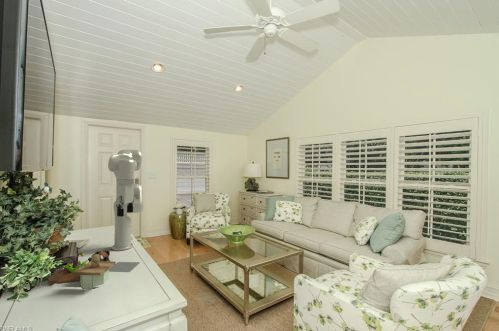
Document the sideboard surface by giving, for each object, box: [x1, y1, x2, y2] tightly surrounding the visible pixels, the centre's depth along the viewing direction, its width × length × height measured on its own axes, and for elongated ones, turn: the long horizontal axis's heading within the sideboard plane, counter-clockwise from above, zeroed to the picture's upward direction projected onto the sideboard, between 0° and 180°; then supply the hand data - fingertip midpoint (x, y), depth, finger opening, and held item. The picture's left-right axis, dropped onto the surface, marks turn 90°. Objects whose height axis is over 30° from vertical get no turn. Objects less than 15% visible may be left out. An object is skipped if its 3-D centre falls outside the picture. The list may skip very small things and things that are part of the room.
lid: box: [73, 254, 117, 275], centre depth 111 cm, size 12×12×6 cm
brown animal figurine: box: [87, 249, 111, 262], centre depth 132 cm, size 12×10×8 cm
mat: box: [109, 261, 141, 273], centre depth 127 cm, size 12×12×1 cm
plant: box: [47, 252, 89, 286], centre depth 118 cm, size 20×20×11 cm
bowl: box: [79, 269, 110, 290], centre depth 110 cm, size 10×10×6 cm
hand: (125, 214), depth 129 cm, fingers open, 9 cm apart
